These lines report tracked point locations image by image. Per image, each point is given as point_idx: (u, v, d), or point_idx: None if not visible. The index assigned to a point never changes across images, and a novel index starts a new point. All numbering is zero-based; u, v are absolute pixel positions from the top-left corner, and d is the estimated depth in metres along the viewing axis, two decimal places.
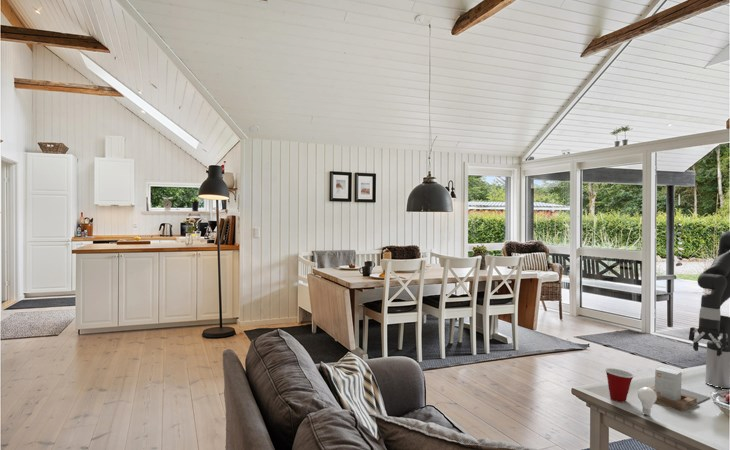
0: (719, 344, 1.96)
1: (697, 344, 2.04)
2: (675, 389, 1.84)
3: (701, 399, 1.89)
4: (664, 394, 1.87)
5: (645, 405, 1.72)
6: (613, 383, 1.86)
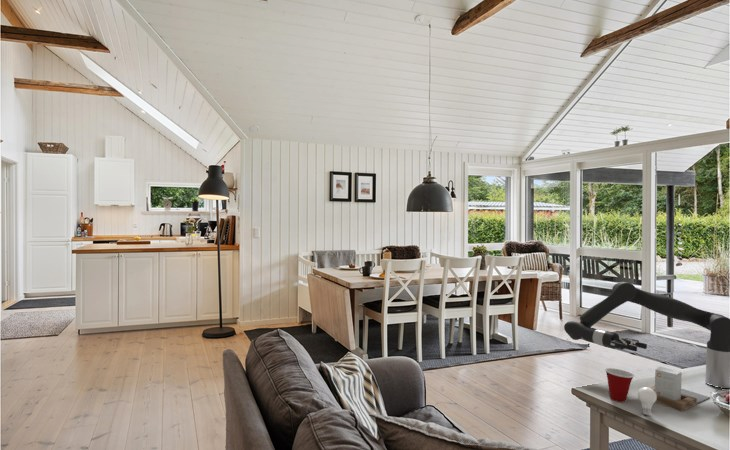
0: None
1: (639, 345, 2.02)
2: (675, 389, 1.84)
3: (701, 399, 1.89)
4: (664, 394, 1.87)
5: (645, 405, 1.72)
6: (613, 383, 1.86)
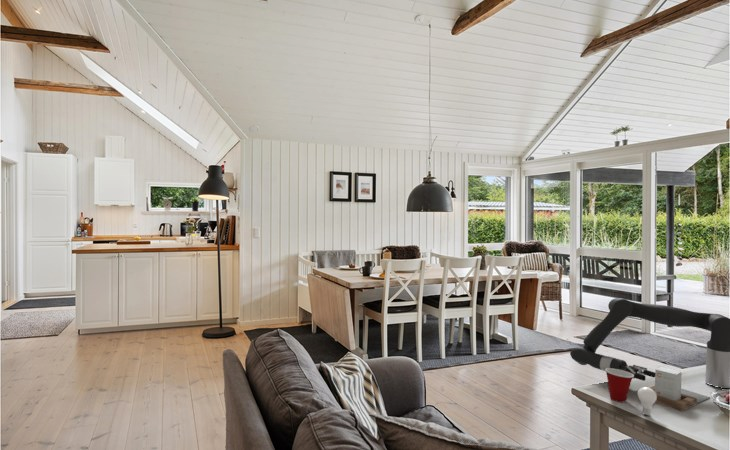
0: None
1: (647, 373, 1.99)
2: (675, 389, 1.84)
3: (701, 399, 1.89)
4: (664, 394, 1.87)
5: (645, 405, 1.72)
6: (613, 383, 1.86)
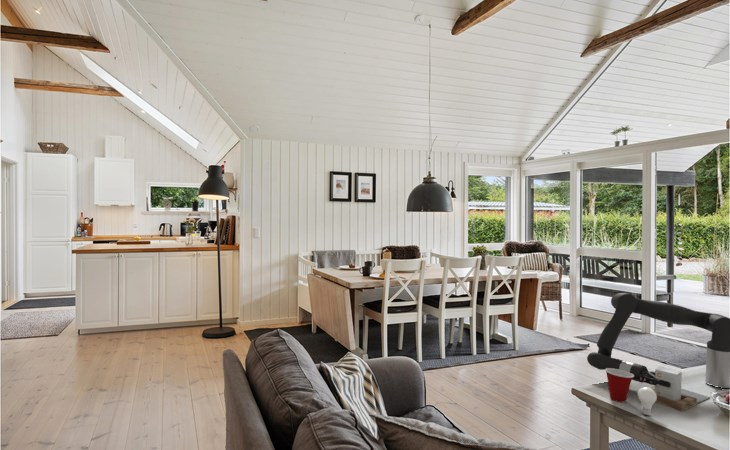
0: None
1: None
2: (675, 389, 1.84)
3: (701, 399, 1.89)
4: (664, 394, 1.87)
5: (645, 405, 1.72)
6: (613, 383, 1.86)
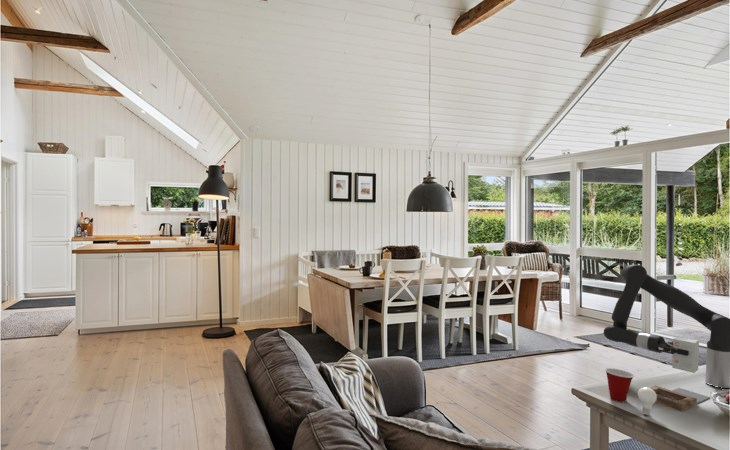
0: None
1: None
2: (693, 357, 1.87)
3: (701, 399, 1.89)
4: (682, 362, 1.90)
5: (645, 405, 1.72)
6: (613, 383, 1.86)
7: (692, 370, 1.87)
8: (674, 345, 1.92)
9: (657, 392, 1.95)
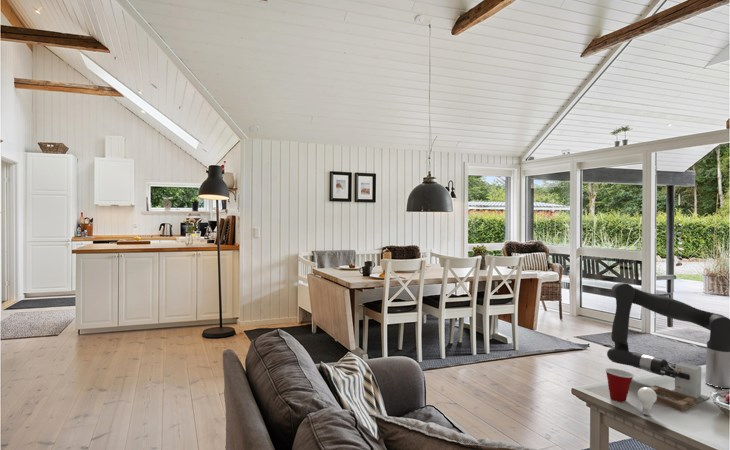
0: None
1: None
2: (695, 383, 1.89)
3: (701, 399, 1.89)
4: (684, 388, 1.92)
5: (645, 405, 1.72)
6: (613, 383, 1.86)
7: (694, 396, 1.90)
8: None
9: (657, 392, 1.95)
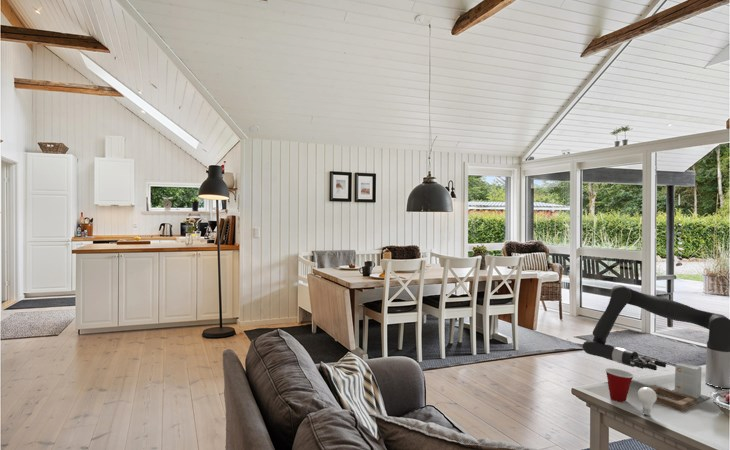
0: None
1: (658, 363, 2.08)
2: (695, 383, 1.89)
3: (701, 399, 1.89)
4: (684, 388, 1.92)
5: (645, 405, 1.72)
6: (613, 383, 1.86)
7: (694, 396, 1.90)
8: (676, 371, 1.95)
9: (657, 392, 1.95)
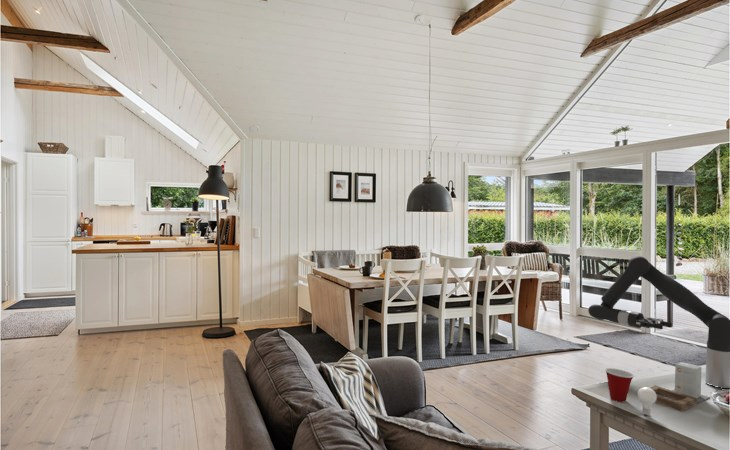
0: None
1: (663, 324, 2.10)
2: (695, 383, 1.89)
3: (701, 399, 1.89)
4: (684, 388, 1.92)
5: (645, 405, 1.72)
6: (613, 383, 1.86)
7: (694, 396, 1.90)
8: (676, 371, 1.95)
9: (657, 392, 1.95)
